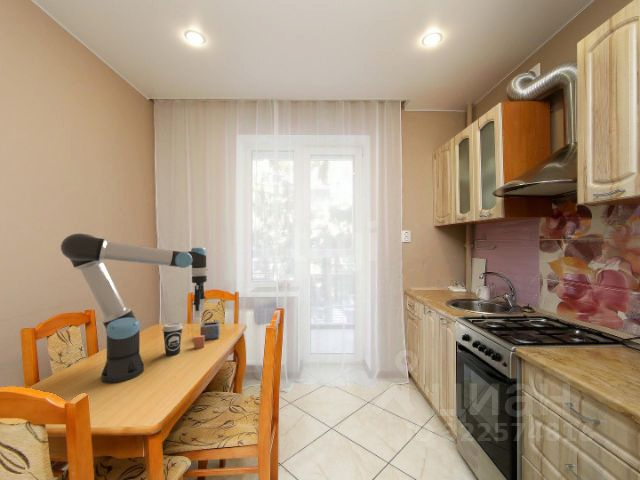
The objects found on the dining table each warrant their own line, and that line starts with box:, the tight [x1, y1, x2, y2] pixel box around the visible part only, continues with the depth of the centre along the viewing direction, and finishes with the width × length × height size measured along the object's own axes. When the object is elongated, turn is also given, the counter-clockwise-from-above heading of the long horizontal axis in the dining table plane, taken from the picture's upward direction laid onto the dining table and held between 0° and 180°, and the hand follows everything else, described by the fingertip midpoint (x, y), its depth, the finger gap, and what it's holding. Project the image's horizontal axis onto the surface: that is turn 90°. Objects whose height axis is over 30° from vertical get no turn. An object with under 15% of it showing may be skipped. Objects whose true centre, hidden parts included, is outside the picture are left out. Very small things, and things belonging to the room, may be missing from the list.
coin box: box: [199, 320, 221, 341], centre depth 163 cm, size 10×10×8 cm
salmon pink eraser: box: [193, 335, 206, 350], centre depth 147 cm, size 2×5×6 cm, turn 106°
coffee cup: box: [161, 321, 184, 357], centre depth 139 cm, size 10×10×15 cm
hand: (199, 313), depth 147 cm, fingers open, 13 cm apart
